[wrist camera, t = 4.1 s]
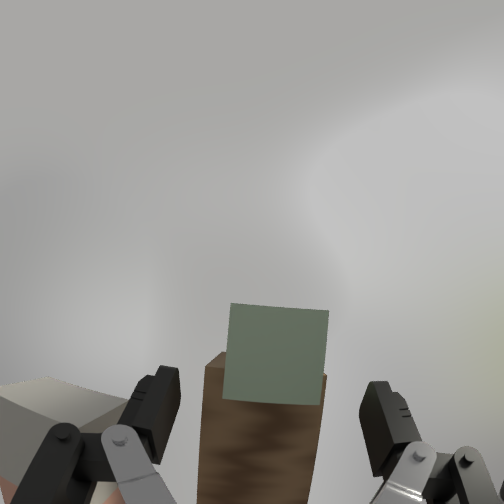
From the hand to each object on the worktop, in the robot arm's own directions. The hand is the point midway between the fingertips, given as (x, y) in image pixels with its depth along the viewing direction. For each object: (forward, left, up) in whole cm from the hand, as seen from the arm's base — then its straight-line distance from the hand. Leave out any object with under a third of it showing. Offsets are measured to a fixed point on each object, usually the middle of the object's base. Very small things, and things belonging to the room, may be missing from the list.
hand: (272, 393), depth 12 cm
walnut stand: (0, -13, -32) cm, 35 cm away
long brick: (0, -11, 0) cm, 11 cm away
